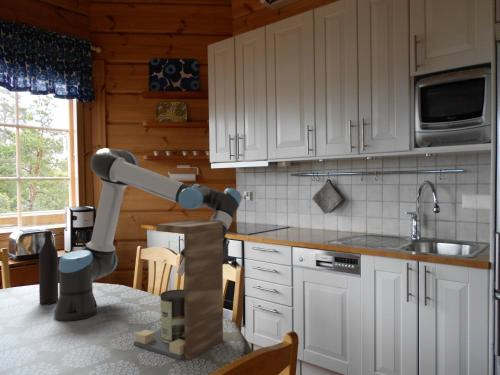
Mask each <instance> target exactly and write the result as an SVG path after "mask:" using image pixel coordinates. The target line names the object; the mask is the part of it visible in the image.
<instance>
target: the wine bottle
mask: <svg viewBox="0 0 500 375" xmlns="http://www.w3.org/2000/svg"><path fill="white" fill-rule="evenodd" d="M43 235H44V243H43V245H42V247H41V249H40V251H39V256H38V275H39V276H38V278H39V279H38V282H39V283H38V285H39V287H38V288H39V304H41V305H52V304H55V303H56V304H57V302H58V299H59V257H58V255H59V254H58V250H57V248H56V246H55V245H54V243H53V239H52V236H53V231H52V230H44V234H43Z"/></svg>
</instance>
